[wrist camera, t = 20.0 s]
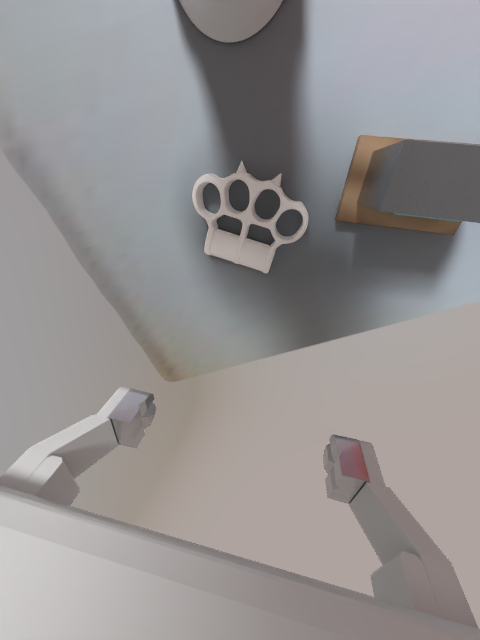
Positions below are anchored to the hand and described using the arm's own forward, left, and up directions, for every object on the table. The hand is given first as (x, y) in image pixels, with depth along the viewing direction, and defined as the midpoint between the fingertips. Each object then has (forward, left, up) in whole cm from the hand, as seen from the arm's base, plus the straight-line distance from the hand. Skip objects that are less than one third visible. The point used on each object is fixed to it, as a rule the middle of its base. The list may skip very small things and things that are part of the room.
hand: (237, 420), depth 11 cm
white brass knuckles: (-4, -5, -35) cm, 35 cm away
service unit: (-10, +16, -33) cm, 38 cm away
